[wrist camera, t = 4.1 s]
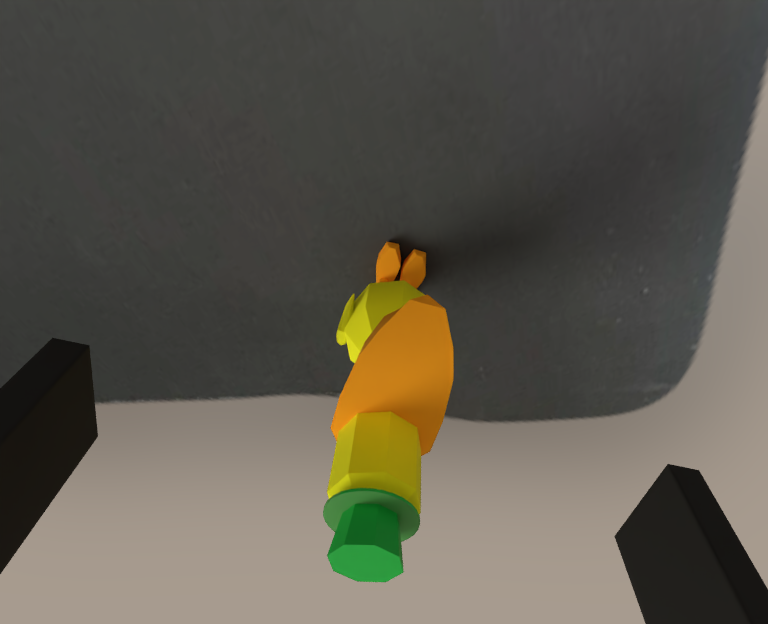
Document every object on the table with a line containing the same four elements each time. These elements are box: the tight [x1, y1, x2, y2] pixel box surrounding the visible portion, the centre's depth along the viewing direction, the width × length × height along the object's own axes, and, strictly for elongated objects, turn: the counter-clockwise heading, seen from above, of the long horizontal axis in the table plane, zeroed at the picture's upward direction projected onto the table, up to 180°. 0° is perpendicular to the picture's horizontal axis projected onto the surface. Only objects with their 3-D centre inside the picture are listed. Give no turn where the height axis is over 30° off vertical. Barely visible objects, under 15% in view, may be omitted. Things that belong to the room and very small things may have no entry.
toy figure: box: [323, 242, 453, 582], centre depth 15 cm, size 7×4×12 cm, turn 165°
